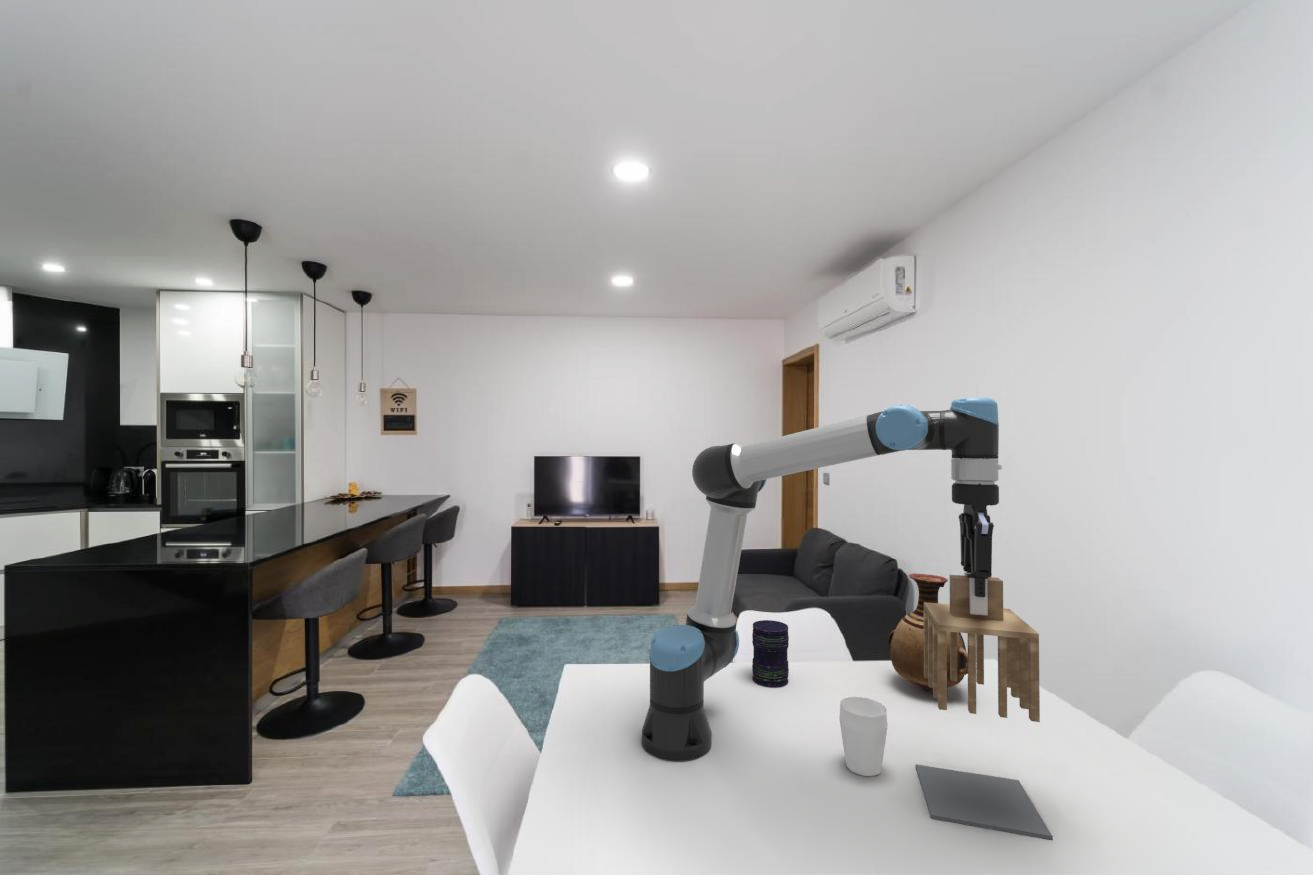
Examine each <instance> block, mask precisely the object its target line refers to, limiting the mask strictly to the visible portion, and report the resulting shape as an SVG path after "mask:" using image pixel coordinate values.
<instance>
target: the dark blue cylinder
mask: <svg viewBox="0 0 1313 875" xmlns="http://www.w3.org/2000/svg"><path fill="white" fill-rule="evenodd" d="M789 636H790V635H789V625H788V624H786V623H785V622H781V621H778V620H772V619H771V620H770V619H766V620H764V619H763V620H757V621H754V622H753V623H752V636H751V639H752V642H751V643H752V646H753V658H752V662H751V663H752V665H751V670H752V681H753V682H754V683H755V684H756V685H759V686H760V687H765V688H771V689H778V688H783V687H786V686H788V683H789V679H788V678H789V674H790V672H789V671H790V668H789V660H788V650H789V646H790V645H789V641H790V640H789V638H790V637H789Z"/></svg>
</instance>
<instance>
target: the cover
mask: <svg viewBox="0 0 1313 875" xmlns="http://www.w3.org/2000/svg"><path fill="white" fill-rule="evenodd" d="M987 595H988V615H977V614H970V599H969V578H967V576H964V574H962V575H961V574H949V603H939V602H938V603H927V602H924V677H925V678H928V686H929V687H931V688H933V691H932V696H933V698H934V699H937V707H938V709H939V710H942V711H948V687H947V631H948V632H950V679H951V681H956V682H957V632H959V633H961V634H967V653H968V674H967V711H968V713H969V714H973V715H977V685H981V686H982V685H985V654H984V653H985V646H984V645H985V641H984V640H985V639H984V637H985V636H995V637H997V699H998V700H997V705H998V708H997V710H998V711H997V715H998V716H999V717H1000V718H1003V719H1008V688H1010V696H1011V697H1012V698H1016V699H1018V700H1019V707H1020V708H1021V709H1023V710H1028V719H1029V720H1030V722H1035V723H1040V722H1041V718H1040V717H1041V716H1040V714H1041V712H1040V709H1041V708H1040V707H1041V705H1040V701H1041V700H1040V698H1041V697H1040V633H1039V632H1037V630H1035V629H1034V628H1033V627H1031V626H1030V625H1029V624H1028V623H1027V622H1026V621H1024V620H1023V619H1022V618H1021V617H1020V616H1018V615H1017V614H1016V613H1015V612H1014V611H1013V610H1011V609H1010V608H1005V607H1004V581H1003V580H1001V579H1000V578H999V577H993V576H991V577H988V579H987Z"/></svg>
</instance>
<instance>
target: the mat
mask: <svg viewBox="0 0 1313 875" xmlns="http://www.w3.org/2000/svg"><path fill="white" fill-rule="evenodd" d="M914 767H915V771H916V773H917V777H918V780H919V784H920V786H921V791H922V793H923V796H924V800H925V803H926V806H927V809H928V813H929V817H930V819H932V820H938V821H944V822H949V823H956V824H959V825H967V826H970V827H971V826H973V827H978V828H982V829H988V830H989V829H990V830H995V831H1000V832H1005V833H1011V834H1012V833H1013V834H1017V835H1021V836H1028V837H1029V836H1030V837H1033V838H1039V839H1043V840H1044V839H1045V840H1052V841H1053V835H1052V833H1051V831H1050V830H1049V828H1048V826H1047V825H1046V823H1045V821H1044V820H1043V818H1042V816H1041V814H1040V813H1039V811H1038V809H1037V808H1036V806H1035V804H1034V803H1033V801H1032V800H1031V798H1030V797H1029V795H1028V793H1027V791H1026V790H1025V788H1024V786H1023V785H1022V783H1021V782H1020V780H1019V779H1014V778H1007V777H1000V776H994V775H988V774H987V775H986V774H981V773H975V772H968V771H962V770H955V769H949V768H941V767H936V766H929V765H923V764H917V763H916V764H915V766H914Z"/></svg>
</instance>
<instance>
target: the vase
mask: <svg viewBox="0 0 1313 875" xmlns="http://www.w3.org/2000/svg"><path fill="white" fill-rule="evenodd" d="M908 577H909V578H910V579H912V580H913V581H914V582H915V583H916V585H917V588H918V600H917V606H916V608H915V610H914V611H911V612H909V613H907V614H906V615H905V616H903V617H902V618H901V619H900V621H899V623H897V626H896V627H895V629H893V630H892V631H891V632H890V633H889V635H888V636H887V641H888V646H889V647H890V661H891V664H892V667H893V669H894V670H895V672H896V673H897V674H898V675H899V676H900V677H901V678H903V679H904V680H906V681H908V682H910V683H912V684H913V685H915V686H917V687H919V688H920V689H922V690H923V691H924V692H933V688H931V687H929V686H928V678H925V677H924V602H927V603H939V591H940V588H944V587H945V585H946V583H947V582H948V581H949V580H948V578H946V577H944V576H941V575H934V574H926V573H910V574H908ZM965 643H966V642H965V640H964V638H963V635H962V633H959V632H957V682H956V681H951V679H950V632H948V631H947V688H950V687H954V686H957V685H958V684H960V683H961V682H962V681H963V680H964V677H965V676H966V675H968V651H967V647H966V644H965Z"/></svg>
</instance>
